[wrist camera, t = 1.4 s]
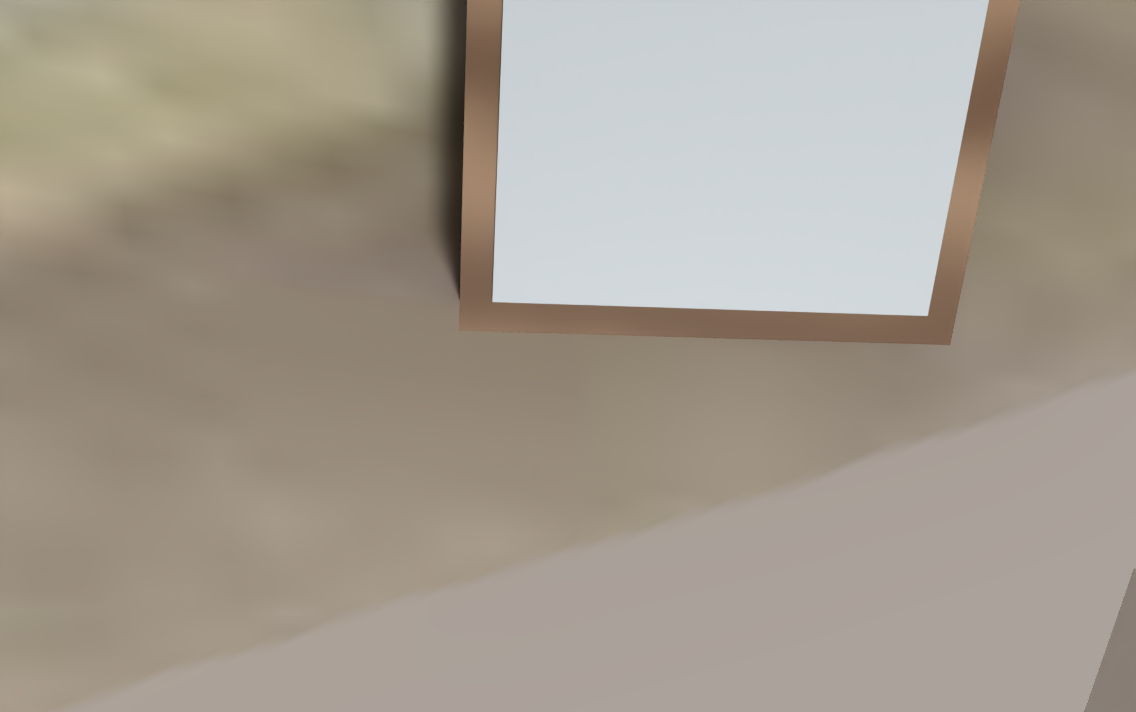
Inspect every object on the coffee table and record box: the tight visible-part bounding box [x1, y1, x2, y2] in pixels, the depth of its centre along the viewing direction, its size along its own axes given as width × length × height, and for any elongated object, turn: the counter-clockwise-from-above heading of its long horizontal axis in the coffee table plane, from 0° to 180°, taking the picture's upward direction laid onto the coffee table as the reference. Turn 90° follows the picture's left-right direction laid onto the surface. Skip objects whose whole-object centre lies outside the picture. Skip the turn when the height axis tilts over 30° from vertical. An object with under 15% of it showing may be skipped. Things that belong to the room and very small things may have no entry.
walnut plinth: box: [459, 0, 1021, 345], centre depth 31 cm, size 16×16×3 cm
